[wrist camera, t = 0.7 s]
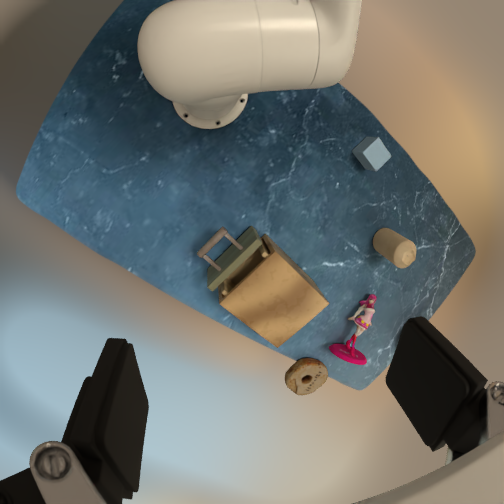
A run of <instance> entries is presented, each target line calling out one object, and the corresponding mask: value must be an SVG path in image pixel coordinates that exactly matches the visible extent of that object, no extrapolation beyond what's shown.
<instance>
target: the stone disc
mask: <svg viewBox="0 0 504 504" xmlns="http://www.w3.org/2000/svg"><path fill="white" fill-rule="evenodd" d="M327 377H328V371H327V368H326V366H325V365H324V364H323V363H322V362H320V361H319V360H316V359H313V358H303V359H300V360H298V361H297V362H296V363H295V364H293V365H292V366H291V367H290V368H289V370H288V371H287V372H286V374H285V383H286V385H287V387H288V388H289V389H291V390H292V391H293V392H294V393H296V394H297V395H307V394H310V393H312V392H314V391H315V390H316V389H318V388H319V387H321V386H322V384H324V383H325V382H326V380H327Z"/></svg>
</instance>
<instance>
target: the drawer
mask: <svg viewBox="0 0 504 504" xmlns="http://www.w3.org/2000/svg"><path fill="white" fill-rule="evenodd" d="M227 232H228V231H227V230H226V229H225V228H224V227H221V228H220V229H219V230H218V231H217V232H216V233H215V235H214V236H213V237H212V238H211V239H210V240H209V241H208V242H207V243H206V244H205V245H204V246H203V247H202V248H201V249H200V250H199V251H198V252H197V255H198V256H199V257H200V258H202V257H203V258H204V259H205V260H206V261H208V262H209V263H210V264H211V266H210V267H209V268H208V269H207V287H208V288H209V289H210V290H211V291H214V290H215V289H216V288H217V287H218V286H219V285H220V284H221V293H222V294H223V295H224V296H226V295H227V294H228V293H229V292H230V291H231V290H232V289H233V288H234V287H235V286H236V285H237V284H238V283H240V282H241V281H242V280H243V279H244V278H245V277H246V276H247V275H248V274H249V273H250V272H251V271H252V270H253V269H254V268H255V267H257V266H258V265H259V264H260V263H261V262H262V261H263V260H264V259H265V258H266V257H267V256H268V255H269V254H270V253H271V252H270V250H269V248H268V247H267V246H266V245H265V244H264V243H263V242H262V241H261V239H260V237H259V235H258V233H257V231H256V229H255V228H254V227H252V226H250V227H249V228H248V229H247V230H246V231H245V232H244V233H243V234H242V235H241V236H240V237H239V238H238V239H237V240H235V239H234V238H233V237H232V236H230V235H229V234H228V233H227ZM224 235H225V237H226V238H227V239H229V240H230V241H231V242H232V243H233V244H232V245H231V246H230V247H229V248H228V249H227V250H226V251H225V252H224V253H223V254H222V255H221V256H220V257H219V258H218V259H217V260H216V261H215V262H214V261H213V260H212V259H211V258H210V257H208V256H207V255H206V253H207V252H208V251H209V250H210V249H211V248H212V247H213V246H214V245H215V244H216V243H217V242H218V241H219V240H220V239H221V238H222V237H223V236H224Z"/></svg>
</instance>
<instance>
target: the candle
mask: <svg viewBox="0 0 504 504" xmlns="http://www.w3.org/2000/svg"><path fill="white" fill-rule="evenodd" d="M373 246H374V248H375V250H376V251H377V252H379V253H380V254H381V255H383V256H384V257H385V258H387V259H388V260H389V261H391V262H392V263H393V264H394V265H396V266H397V267H399V268H405V267H407V266H409V265H410V264H411V263H412V262H413V261H414V260H415V256H416V246H415V244H414V243H413V242H411V241H410V240H408V239H406V238H405V237H403V236H401V235H400V234H398V233H396V232H394V231H393V230H391V229H389V228H382V229H380V230H378V231H377V232H376V234H375V235H374V238H373Z"/></svg>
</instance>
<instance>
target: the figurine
mask: <svg viewBox="0 0 504 504" xmlns="http://www.w3.org/2000/svg"><path fill="white" fill-rule="evenodd" d="M375 301H376V296H375V295H374V294H371V295H369V298H367V300H366V301H360V302H359V303H361V305H363V306H361V307H359V308H358V311H357V312H356V313H355V315H354V316H352V317H351V318H348V319H349V320H350V319H351V320H354V322H355V323H356V324H357V331H356V333H355V334H354V335H353V336H352V337H351V339H350V340H348V341H347V342H346V345H344V344H332V345H331V346H329V349H330V351H331V352H332V353H333V354H334V355H336V356H337V357H339V358H341V359H343V360H345V361H347V362H350V363H353V364H358V365H364V364H366V363H367V360H366V357H365V356H364V355H363V354H362V353H361V352H360V351H358V350H356V349H355V347H354V344H355V340H356V338H357V336H358V335H360V334H361V333H362V332H363V331H364V330H366V329H367V328H368V327H369V325H372V324H371V319H372V315H373V314H374V312H375V310H374V303H375ZM363 310H364V311H365V315H363V316H362V315H360V316H358V317H357V318H356V316H357V315H359V314H360V312H361V311H363ZM352 340H353V345H352V347H350V343H351V341H352Z"/></svg>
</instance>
